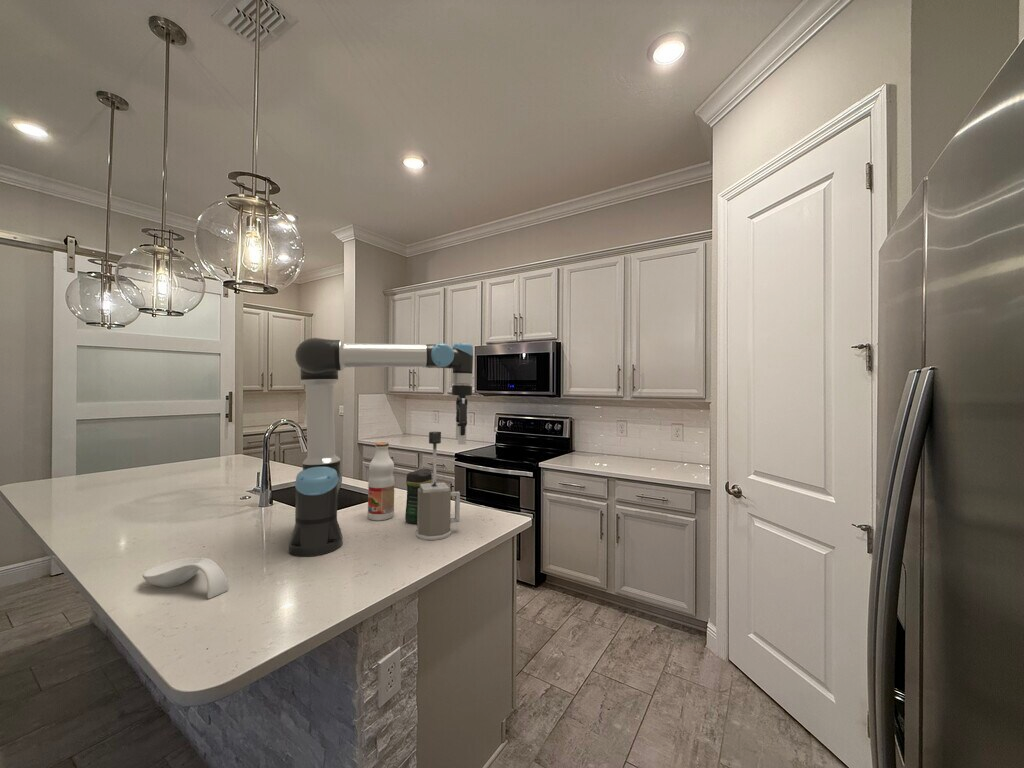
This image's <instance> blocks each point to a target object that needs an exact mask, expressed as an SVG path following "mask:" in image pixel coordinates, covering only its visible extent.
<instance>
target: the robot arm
mask: <svg viewBox="0 0 1024 768" xmlns="http://www.w3.org/2000/svg"><path fill="white" fill-rule="evenodd" d="M294 358H295V361H296V364H297V365H298V367H299V368H300V369H299V370H300V381H301V383H303V384H304V386H305V403H306V404H305V405H306V406H305V408H306V412H305V413H306V442H307V444H306V447H307V457H306V458H305V459H304V460H303V461H302V470H300V471H299V472H298V473H297V475H296V478H295V482H294V487H295V516H294V517H295V518H294V521H295V523H294V526H293V529H292V532H291V535H290V538H289V541H288V543H287V545H288V547H287V548H288V550H287V551H288V553H289V554H291V555H293V556H297V557H313V556H320V555H325V554H328V553H331V552H334V551H336V550H338V549H339V548H341V547H342V545H343V538H344V537H343V532H342V530H341V528H340V524H339V521H338V494H339V490H341V489H340V488H341V487H342V484H343V475H342V472H341V458H340V457H339V456H338V455H336V427H335V426H336V425H335V390H334V388H335V384H336V383H337V382H338V381H339V371H343V370H345V368H419V367H420V368H425V369H452V370H451V371H452V374H451V375H452V376H451V377H452V378H451V383H452V384H453V385H452V386H451V396H452V395H453V396H458V397H456V400H455V404H456V405H455V409H456V412H455V413H456V414H455V440H457V443H458V445H467V425H468V413H467V412H468V411H467V410H468V399H467V398H466V397H467V396H472V395H473V386H472V384H473V380H474V378H475V377H474V376H473V370H474V369H473V368H474V366H473V364H474V346H473V345H472V344H471V343H466V342H465V343H464V342H463V343H462V342H457V343H453V346H452V347H451V346H450V345H449V344H447V343H443V342H442V343H435V344H432V343H431V344H425V343H417V344H416V343H352V342H350V343H348V342H346V343H345V342H344V341H343V340H342V339H326V338H320V337H310V338H307V339H305V340H303V341H302V342H301V343H299V344H298V346H297V348H296V350H295V357H294Z"/></svg>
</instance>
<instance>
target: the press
mask: <svg viewBox="0 0 1024 768" xmlns="http://www.w3.org/2000/svg"><path fill="white" fill-rule="evenodd" d="M432 484H433V482H431V483H426V484H420V488H418V507H417V523H416V524H417V526H416V531H415V537H416V538H417V539H420V540H422V541H423V540H424V541H441V540H444V539H447V538H448V537H450V536H451V535H452V528H451V524H454V523H460V521H461V520H460V518H461V517H460V514H461V513H460V510H461V507H460V505H461V493H460V491H452V490H451V488H450V486H448V485H447V484H446V482H443V481H442V482H436V487H432ZM452 497H454V517H451V512H452V511H451V508H452V507H451V505H452V504H451V501H452V499H451V498H452Z"/></svg>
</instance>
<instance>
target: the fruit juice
mask: <svg viewBox="0 0 1024 768" xmlns="http://www.w3.org/2000/svg"><path fill="white" fill-rule="evenodd" d="M374 446H375V453H374V456H373V458H372V460H371V461H370V463H369V464H368V470H369V477H368V482H367V483H368V484H367V486H368V488H367V489H368V490H367V493H368V494H367V517H368V519H369V520H371V521H384V520H390V519H392V518H393V517H394V515H395V477H394V476H395V475H394V470H395V463H394V461H393V460H392V459H393V458H391V457H390V453H389V447H390V444H389V442H385V441H381V442H380V441H379V442H376V443H375V444H374Z"/></svg>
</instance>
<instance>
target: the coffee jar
mask: <svg viewBox="0 0 1024 768" xmlns="http://www.w3.org/2000/svg"><path fill="white" fill-rule="evenodd" d="M426 483H433V472H432V471H431V470H430V469H425V468H420V469H418V470H414V471H410V472H408V473H406V506H405V514H404V515H405V517H404V520H405V522H407V523H409V524H417V507H418V488H420V484H426Z"/></svg>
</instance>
